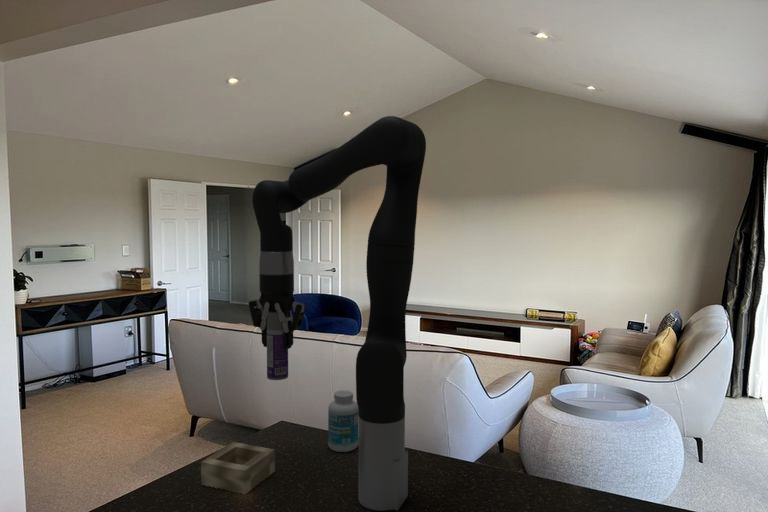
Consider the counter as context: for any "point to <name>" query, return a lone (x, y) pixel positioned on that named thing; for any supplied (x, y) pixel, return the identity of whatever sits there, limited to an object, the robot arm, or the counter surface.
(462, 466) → the counter surface
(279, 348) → the container
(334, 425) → the pill bottle
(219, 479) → the socket block
